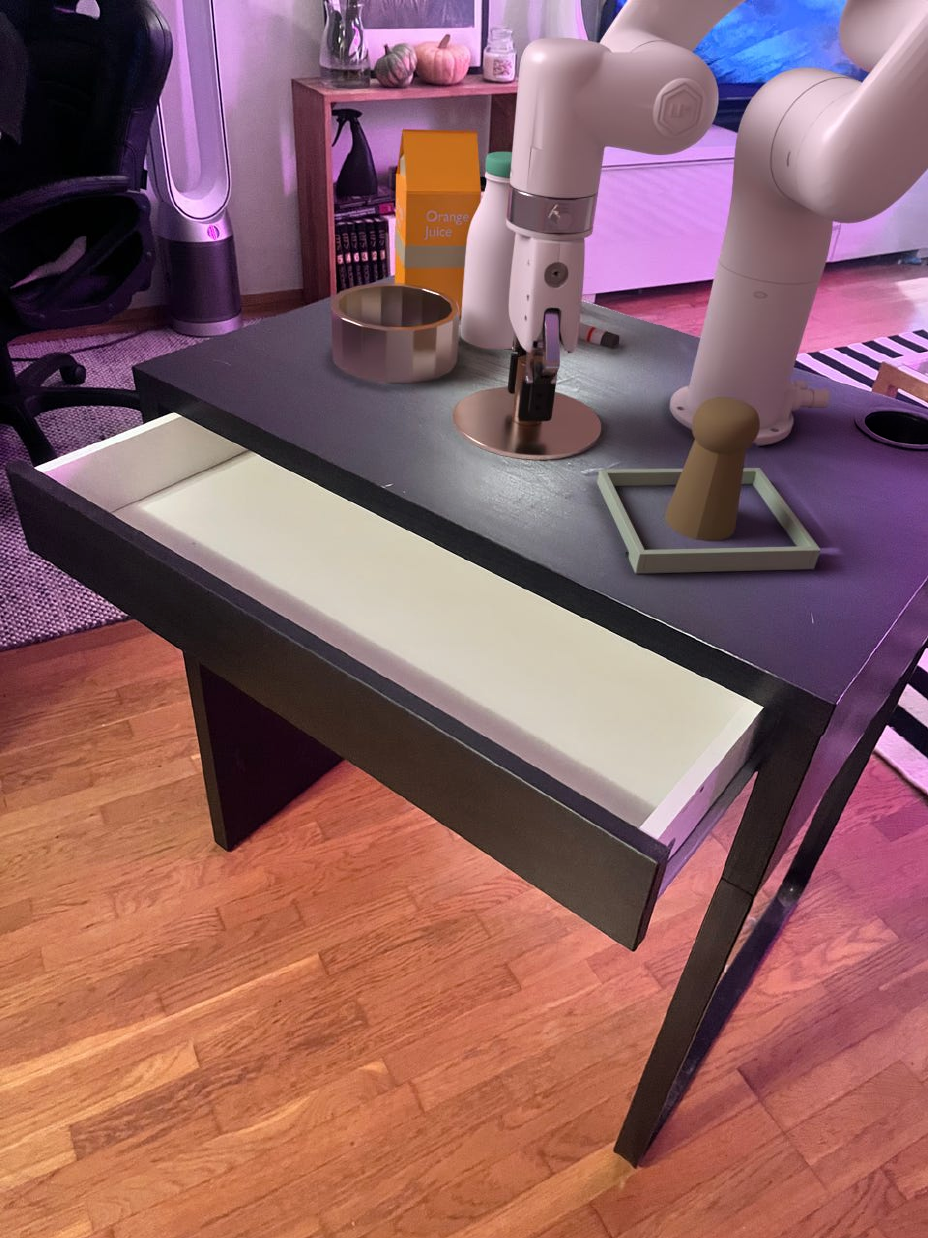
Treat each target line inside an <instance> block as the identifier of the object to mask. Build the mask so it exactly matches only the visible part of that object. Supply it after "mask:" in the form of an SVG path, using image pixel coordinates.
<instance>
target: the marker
mask: <svg viewBox="0 0 928 1238" xmlns="http://www.w3.org/2000/svg"><path fill="white" fill-rule="evenodd" d="M620 337H621V336H620V335H619V334H616V333H614V332H610V331H608V330H605V329H602V328H599V327H596V326H593V325H589V324H586V323H583V322H579V332H578V340H582V341H585V342H588V343H591V344H593V345H598V346H601V347H605V348H607V349H610V350H612V349H614V348H615V347H617V346H619V345H620V341H621V338H620Z"/></svg>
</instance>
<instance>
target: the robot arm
mask: <svg viewBox="0 0 928 1238" xmlns="http://www.w3.org/2000/svg"><path fill="white" fill-rule="evenodd" d="M746 1H747V0H626V1H625V3H624V4H623V6H622V8H621V9H620V11H619V12H618V13H617V15H616V16H615V18H614V19H613V21H612V22H611V24H610V26H609V27H608V29H607V30H606V32H605V33H604V35H603V36H602V38H601V39H600V41H599V42H596V41H593V40H587V39H583V38H582V39H581V38H574V37H572V38H571V37H542V38H538V39H534V40H532V41H531V42H530V43H528V44H527V45H526V47H525V48H524V49H523V52H522V54H521V57H520V64H519V70H518V81H517V82H518V83H517V92H516V93H517V94H516V104H515V105H516V106H515V118H514V127H513V128H514V130H513V139H512V140H513V141H512V149H511V150H512V151H511V152H512V162H511V173H510V185H509V197H508V208H507V219H506V225H507V227H508V228H509V229H510V230H512V231H514V232H515V233H516V236H515V245H514V252H513V261H512V270H511V280H510V291H509V317H510V320H511V323H512V326H513V328H514V337H513V343H512V348H511V349H512V353H510V358H509V360H510V361H509V370H508V380H507V387H508V391H509V393H510V394H515V385H516V375H517V365H518V359H519V357H521V356H523V355H526V373H525V379H522V380H521V389H520V399H519V408H518V418H519V420H520V421H550V420H551V418H552V411H553V403H554V396H555V392H556V389H557V381H558V371H559V370H560V368H561V367H560V366H561V354H560V352H561V349H560V344H561V346H562V348H563V350H564V352H566V353H567V354H573V353H574V352H575V351H576V350H577V348H578V342H579V341H578V340H579V338H578V332H579V322H580V320H581V311H582V300H583V291H584V290H583V289H584V278H585V277H584V276H585V258H586V257H585V255H586V254H585V253H586V249H585V248H586V245H585V243H586V242H585V241H586V240H585V239H586V238H588V237H590V236H592V235H593V232H594V226H595V225H594V224H595V218H596V217H595V216H596V211H597V210H596V209H597V203H598V197H599V191H600V183H601V176H602V169H603V163H604V155H605V150H606V148H607V147H609V148H615V149H621V150H625V151H630V152H635V153H642V154H648V155H651V156H652V155H653V156H668V155H674V154H678V153H680V152H683V151H686V150H688V149H689V148H691V147H693V146H695V145H696V144H697V143H698V142H699V141H701V140H702V138H703V137H704V136H705V135H706V134H707V133H708V131H709V130H710V129H711V126H712V124H713V123H714V121H715V118H716V116H717V111H718V106H719V87H718V83H717V80H716V78H715V77H716V76H715V75H714V73H713V71H712V69H711V68H710V67H709V65H708V64H707V63H706V62H705V60H704V59H702V58H701V57H700V56H699V55H697V54H696V53H695V52H694V50H695V49H696V48H697V47H698V46H699V44H700V43H701V42H702V41H703V39H704V38H705V37H706V36H707V35H709V33H710V31H712V30H713V28H715V26H717V25H718V23H719V22H720V21H721V20H723V19H725V17H727V15H729V14H730V13H731V12H732V11H734V10H735V9H736V8H737V7H739V6H740V5H741V4H743V3H745V2H746ZM838 37H839V43H840V46H841V49H842V51H843V53H844V54H845V56H846V57H847V58H848V59H849V61H850V62H851V63H852V64H853V65H855V66H856V67H858V68H859V69H861V70H862V71H864V72H867V73H868V75H867V76H866V77H865V78H864V79H863V81H860V80H858V79H856V78H853V77H851V76H847V75H844V74H841V73H839V72H835V71H833V70H829V69H825V68H820V67H815V66H814V67H813V66H807V67H795V68H790V69H787V70H785V71H783V72H780V73H778V74H777V75H775V76H773V77H771V78H770V79H769V80H768V81H766V82H765V83H764V84H763V85H762V86H761V87H760V88H759V89H758V90H757V92H756V93H755V94H754V95H753V97H752V98H751V99H750V101H749V103H748V104H747V106H746V108H745V111H744V113H743V114H742V116H741V119H740V123H739V126H738V131H737V134H736V139H735V140H736V141H735V147H734V157H733V172H732V185H731V196H730V203H729V208H728V209H729V210H728V214H727V220H726V224H725V225H726V226H725V229H724V234H723V239H722V243H721V249H720V252H719V255H718V256H719V257H718V259H717V265H716V269H715V272H714V277H713V280H712V284H711V289H710V295H709V299H708V303H707V307H706V312H705V315H704V320H703V324H702V329H701V334H700V337H699V342H698V345H697V351H696V355H695V359H694V363H693V369H692V373H691V377H690V380H689V384H688V385H685V386H682V387H681V388H679V389H677V390H676V391H675V392H674V393H673V394H672V395H671V397H670V401H669V411H670V413H671V414H672V416H673V417H674V418H675V419H676V420H677V421H678V422H679V423H680V424H681V425H683V426H685V427H686V428H688V429H690V430H692V421H693V416H694V414H695V412H696V410H697V409H698V407H699V406H700V405H701V404H702V403H703V402H704V401H706V400H708V399H712V398H717V397H727V398H733V399H737V400H741V401H743V402H745V403H747V404H749V405H750V406H752V407H753V408H754V409H755V410H756V411H757V413H758V416H759V420H760V429H759V432H758V435H757V437H756V439H755V441H754V442H753V444H756V446H758V447H759V446H766V445H773V444H775V443H778V442H780V441H782V440H784V439H786V438H787V437H788V436H789V434H790V433H791V431H792V428H793V425H794V416H793V414H792V412H796V411H799V409H800V408H807V409H826V408H827V407H828V406H829V405H830V402H831V393H830V390H829V389H827V388H810V389H809V386H808V382H807V381H805V380H803V381H802V380H799V381H798V380H794V381H791V378H792V374H793V371H794V367H795V364H796V361H797V357H798V355H799V351H800V348H801V345H802V341H803V337H804V335H805V332H806V328H807V325H808V321H809V318H810V315H811V311H812V308H813V305H814V302H815V298H816V296H817V292H818V288H819V286H820V283H821V280H822V279H821V278H822V276H823V274H824V270H825V267H826V264H827V260H828V256H829V252H830V247H831V241H832V235H833V226H834V222H835V223H838V224H856V223H861V222H865V221H868V220H870V219H872V218H875V217H877V216H878V215H880V214H882V213H883V212H885V211H887V210H888V209H889V208H890V207H892V206H893V205H894V204H895V203H896V202H898V201H899V200H900V199H901V198H902V197H903V196H904V195H905V194H906V193H907V192H908V191H909V190H910V189H911V188H912V187H913V186H914V185H915V184H916V183H917V181H919V179H921V177H922V176H923V175H924V174H925V173H926V172H927V170H928V0H846V2H845V3H844V7H843V9H842V11H841V16H840V19H839V23H838ZM580 323H581V322H580ZM534 356H543V358H542V360H541V362H537V363H536V365H535V367H534Z"/></svg>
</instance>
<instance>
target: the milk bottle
mask: <svg viewBox="0 0 928 1238" xmlns="http://www.w3.org/2000/svg"><path fill="white" fill-rule="evenodd" d="M511 162H512V151H494V152H490V153H488V154H487V155H486V158H485V165H484V167H485V174H484V177H485V179H486V185H485V189H484V192H483V194H482V196H481V202H480V205H479V207H478V209H477V211H476V213H475V214H474V217H473V219H472V221H471V224H470V228H469V232H468V237H467V245H466V255H465V270H464V284H463V301H462V317H460V318H461V321H460V336H461V338H462V340H463V341H464V342H466V343H467V344H469V345H471V346H474V347H477V348H481V349H487V350H496V351H497V350H498V351H500V350H511V349H512V343H513V337H514V328H513V326H512V323H511V320H510V317H509V291H510V280H511V270H512V261H513V252H514V245H515V236H516V233H515V232H514V231H512V230H510V229H509V228H508V227H507V225H506V219H507V208H508V197H509V185H510V173H511Z"/></svg>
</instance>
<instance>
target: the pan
mask: <svg viewBox="0 0 928 1238" xmlns="http://www.w3.org/2000/svg"><path fill="white" fill-rule="evenodd" d="M330 310H331V311H330V312H331V313H330V314H331V345H332V346H331V347H332V348H331V349H332V351H331V352H332V362H333V364H335V365H336V366H337V367H338V368H339V369H340V370H341V371H342V372H344V373H347V374H349V375H351V376H354V377H356V378H359V379H362V380H366V381H372V382H377V383H383V384H417V383H420V382H421V383H422V382H426V381H433V380H436V379H438V378H440V377H442V376H444V375H447V374H448V373H450V372H451V371H452V370H453V369H454V367H455V366H456V365H457V363H458V349H459V331H460V318H461V317H460V310H459V307H458V304H457V302H456V301H455V300H454V299H452V298H451V297H449V296H448V295H446V294H444V293H442V292H439V291H436V290H433V289H430V288H427V287H422V286H416V285H409V284H403V283H395V282H376V283H370V284H369V283H368V284H361V285H356V286H352V287H350V288H346V289H343V290H341V291H339V292H338V293H337V294H336V295H335V296H334V297H332V298H331V299H330Z"/></svg>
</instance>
